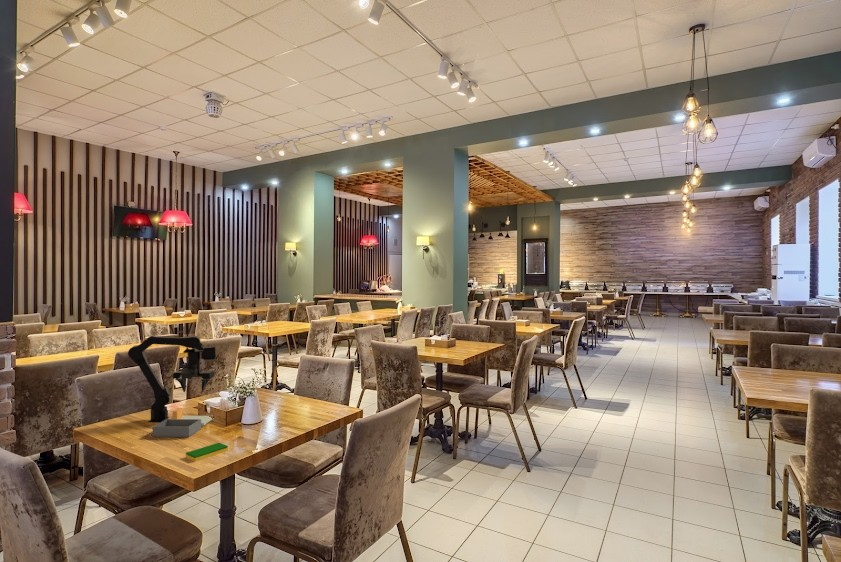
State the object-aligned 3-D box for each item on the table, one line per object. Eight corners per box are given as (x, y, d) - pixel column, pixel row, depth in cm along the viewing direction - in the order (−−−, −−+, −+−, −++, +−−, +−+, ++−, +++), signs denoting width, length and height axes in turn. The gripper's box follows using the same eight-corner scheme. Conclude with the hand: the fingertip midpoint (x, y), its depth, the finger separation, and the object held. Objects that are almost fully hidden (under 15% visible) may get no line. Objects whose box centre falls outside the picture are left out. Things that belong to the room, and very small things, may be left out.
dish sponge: (228, 451, 182) (228, 445, 182) (194, 462, 171) (194, 456, 171) (218, 448, 186) (218, 442, 186) (185, 458, 175) (185, 452, 175)
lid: (168, 426, 211) (169, 413, 211) (181, 419, 222) (181, 406, 222) (203, 427, 211) (203, 413, 211) (214, 419, 222) (214, 406, 222)
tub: (152, 437, 197) (152, 426, 197) (166, 428, 208) (166, 419, 208) (188, 437, 197) (188, 427, 197) (201, 429, 208) (201, 419, 208)
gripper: (166, 363, 219) (166, 395, 219) (204, 364, 219) (204, 396, 219) (178, 359, 230) (178, 390, 230) (215, 360, 230) (214, 390, 230)
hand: (193, 391), depth 227 cm, fingers open, 9 cm apart
